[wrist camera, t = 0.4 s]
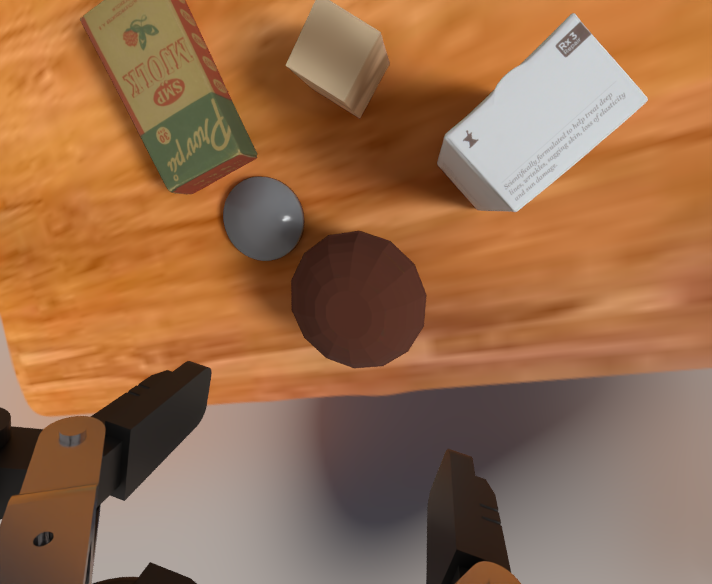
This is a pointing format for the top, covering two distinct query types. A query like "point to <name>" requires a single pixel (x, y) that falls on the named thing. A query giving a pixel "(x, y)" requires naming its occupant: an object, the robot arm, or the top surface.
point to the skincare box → (539, 120)
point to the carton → (170, 90)
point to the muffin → (358, 299)
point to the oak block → (339, 56)
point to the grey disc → (263, 218)
